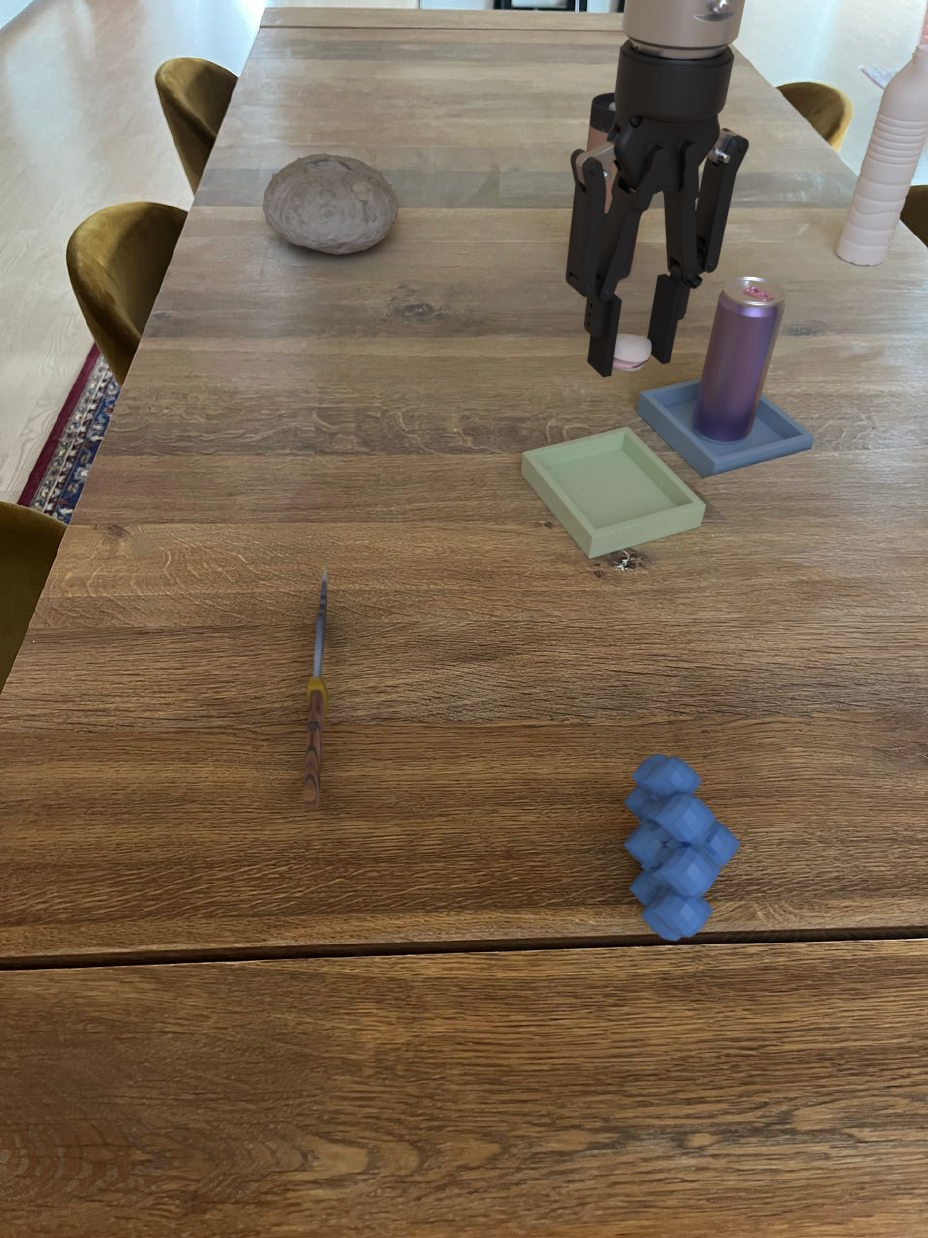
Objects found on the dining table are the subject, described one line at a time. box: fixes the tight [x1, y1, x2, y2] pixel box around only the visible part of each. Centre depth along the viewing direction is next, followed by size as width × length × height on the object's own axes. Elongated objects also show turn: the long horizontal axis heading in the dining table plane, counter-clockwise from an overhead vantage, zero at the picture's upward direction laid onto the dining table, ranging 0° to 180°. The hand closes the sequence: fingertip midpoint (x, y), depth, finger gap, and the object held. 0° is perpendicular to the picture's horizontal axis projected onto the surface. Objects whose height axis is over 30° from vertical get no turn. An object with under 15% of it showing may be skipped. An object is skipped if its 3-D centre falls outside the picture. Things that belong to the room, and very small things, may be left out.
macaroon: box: [612, 332, 651, 373], centre depth 78 cm, size 4×5×2 cm
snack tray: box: [520, 426, 707, 560], centre depth 87 cm, size 14×12×2 cm
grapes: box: [623, 752, 741, 942], centre depth 55 cm, size 12×7×12 cm, turn 1°
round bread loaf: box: [262, 152, 399, 256], centre depth 124 cm, size 18×18×10 cm
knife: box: [302, 567, 329, 811], centre depth 69 cm, size 25×1×5 cm, turn 4°
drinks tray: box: [636, 377, 815, 479], centre depth 95 cm, size 14×12×2 cm
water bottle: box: [835, 43, 928, 267], centre depth 117 cm, size 9×6×25 cm
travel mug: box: [585, 91, 641, 281], centre depth 116 cm, size 8×8×20 cm
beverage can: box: [692, 275, 787, 445], centre depth 90 cm, size 6×6×15 cm
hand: (628, 361), depth 78 cm, fingers closed on macaroon, 5 cm apart
